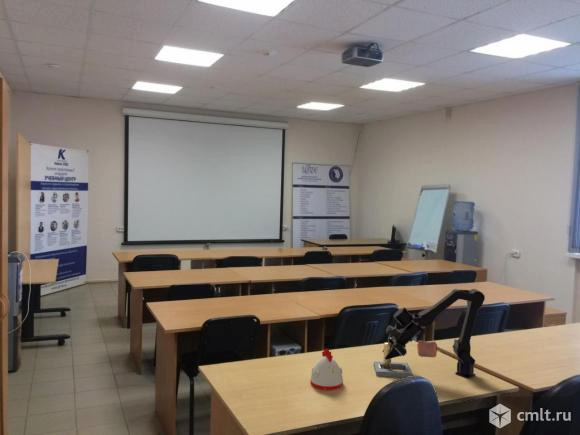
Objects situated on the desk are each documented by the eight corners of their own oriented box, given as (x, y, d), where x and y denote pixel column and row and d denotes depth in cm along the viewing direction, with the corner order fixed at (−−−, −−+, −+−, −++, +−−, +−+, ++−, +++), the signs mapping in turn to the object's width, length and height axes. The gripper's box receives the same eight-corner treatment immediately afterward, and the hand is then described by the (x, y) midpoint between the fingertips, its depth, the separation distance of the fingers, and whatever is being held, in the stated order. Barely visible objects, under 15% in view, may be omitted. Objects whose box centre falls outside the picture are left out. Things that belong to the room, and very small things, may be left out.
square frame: (407, 367, 216) (407, 362, 216) (412, 377, 203) (412, 372, 203) (373, 365, 217) (373, 361, 217) (376, 375, 204) (376, 371, 204)
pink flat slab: (417, 341, 257) (417, 339, 257) (436, 343, 254) (436, 340, 254) (416, 356, 232) (416, 353, 232) (436, 359, 229) (436, 355, 229)
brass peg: (394, 370, 211) (394, 342, 211) (390, 373, 207) (391, 345, 206) (383, 368, 214) (384, 341, 213) (380, 371, 209) (380, 343, 209)
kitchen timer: (319, 392, 186) (320, 356, 185) (305, 380, 198) (305, 346, 198) (348, 387, 191) (349, 352, 191) (333, 375, 204) (333, 342, 203)
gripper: (393, 315, 218) (370, 336, 220) (399, 325, 200) (373, 349, 201) (410, 332, 218) (386, 353, 219) (417, 344, 199) (391, 367, 201)
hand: (384, 355), depth 210 cm, fingers open, 9 cm apart
